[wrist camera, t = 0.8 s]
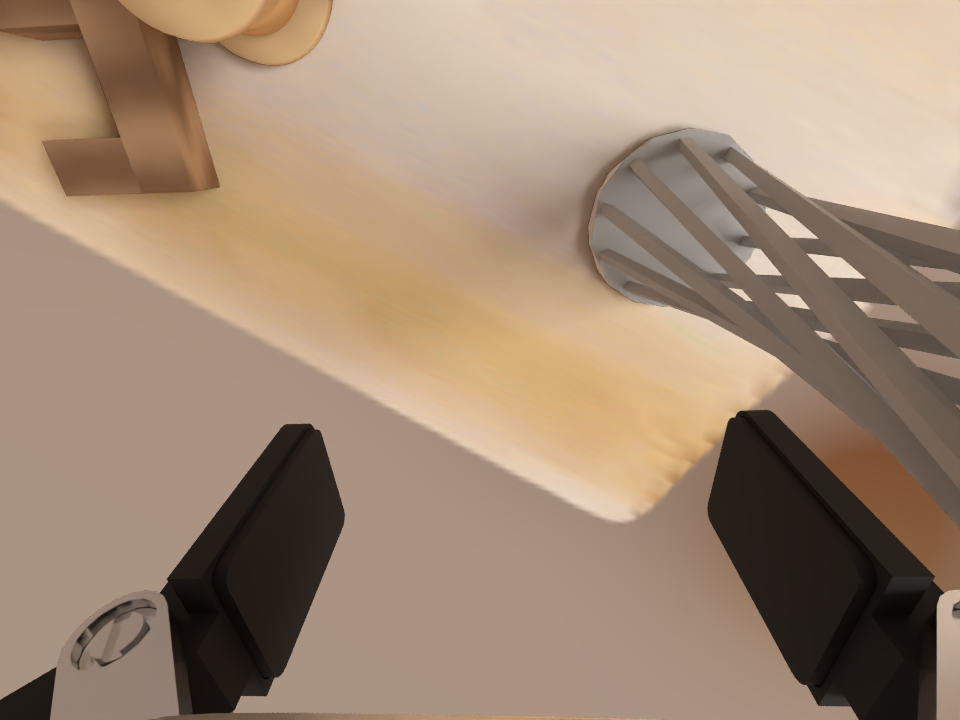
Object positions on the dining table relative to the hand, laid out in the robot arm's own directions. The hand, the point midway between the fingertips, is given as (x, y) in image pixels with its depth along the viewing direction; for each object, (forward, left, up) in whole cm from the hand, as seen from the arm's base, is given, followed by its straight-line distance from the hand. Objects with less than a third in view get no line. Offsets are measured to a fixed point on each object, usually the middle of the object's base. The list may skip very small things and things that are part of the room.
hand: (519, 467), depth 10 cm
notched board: (-11, -28, -29) cm, 42 cm away
